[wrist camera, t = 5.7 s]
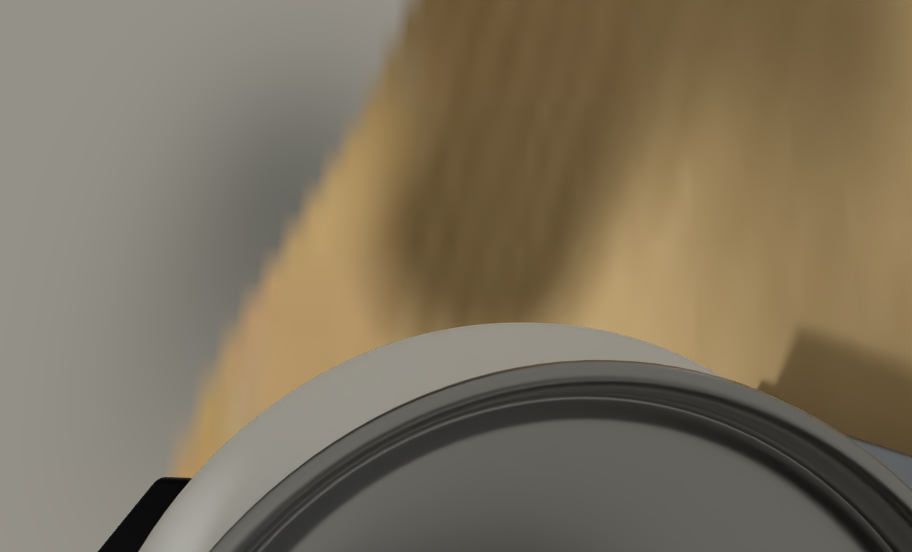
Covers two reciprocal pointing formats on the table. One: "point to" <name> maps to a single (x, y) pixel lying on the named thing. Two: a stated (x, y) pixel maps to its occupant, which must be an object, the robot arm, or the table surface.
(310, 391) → the can
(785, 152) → the table surface
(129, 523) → the robot arm
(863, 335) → the table surface
